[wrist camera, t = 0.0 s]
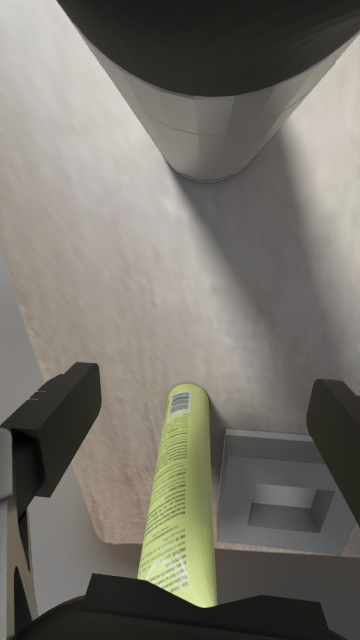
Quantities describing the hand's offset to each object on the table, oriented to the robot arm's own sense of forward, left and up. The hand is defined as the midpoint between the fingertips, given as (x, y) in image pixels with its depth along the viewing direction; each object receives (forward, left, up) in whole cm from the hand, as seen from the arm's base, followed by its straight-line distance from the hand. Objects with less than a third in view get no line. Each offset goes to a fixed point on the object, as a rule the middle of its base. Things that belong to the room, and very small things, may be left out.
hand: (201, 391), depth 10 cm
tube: (+15, -1, -17) cm, 23 cm away
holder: (+27, +12, -17) cm, 34 cm away
